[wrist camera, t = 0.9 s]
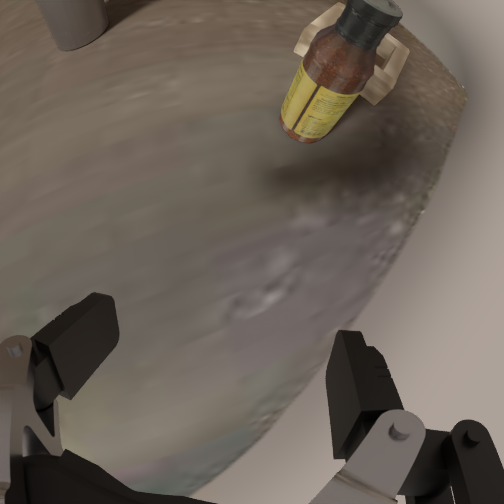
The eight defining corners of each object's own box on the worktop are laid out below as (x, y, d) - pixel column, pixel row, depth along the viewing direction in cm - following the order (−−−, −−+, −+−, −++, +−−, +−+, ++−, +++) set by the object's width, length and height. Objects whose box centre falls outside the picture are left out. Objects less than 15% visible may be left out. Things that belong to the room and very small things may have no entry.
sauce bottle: (334, 126, 32) (431, 25, 12) (306, 155, 31) (411, 42, 11) (295, 93, 31) (364, -25, 12) (264, 119, 30) (328, -18, 11)
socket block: (293, 51, 32) (303, 28, 27) (328, 20, 34) (339, 1, 29) (374, 106, 33) (392, 88, 28) (395, 65, 36) (409, 50, 31)
